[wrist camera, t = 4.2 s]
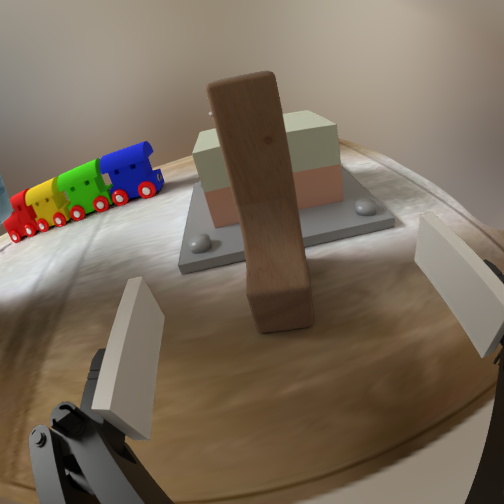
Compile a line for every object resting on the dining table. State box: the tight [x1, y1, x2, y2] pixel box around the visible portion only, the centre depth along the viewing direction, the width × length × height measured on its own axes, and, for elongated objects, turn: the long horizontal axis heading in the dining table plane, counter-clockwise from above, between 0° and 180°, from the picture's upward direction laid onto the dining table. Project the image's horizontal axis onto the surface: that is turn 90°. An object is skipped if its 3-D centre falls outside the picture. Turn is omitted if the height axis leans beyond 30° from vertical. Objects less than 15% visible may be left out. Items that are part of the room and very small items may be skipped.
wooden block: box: [206, 71, 314, 333], centre depth 21 cm, size 9×4×18 cm, turn 179°
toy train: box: [4, 141, 164, 243], centre depth 54 cm, size 45×7×11 cm, turn 95°
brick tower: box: [178, 110, 394, 274], centre depth 38 cm, size 24×24×11 cm
